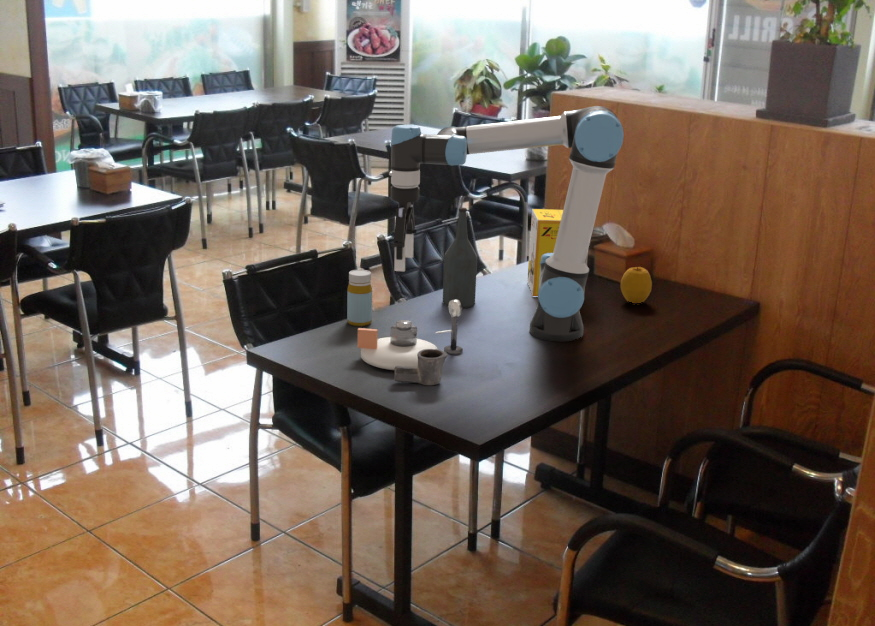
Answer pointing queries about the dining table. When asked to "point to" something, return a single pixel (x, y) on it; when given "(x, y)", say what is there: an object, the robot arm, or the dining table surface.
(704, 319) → the dining table surface
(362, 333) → the turntable
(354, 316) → the bottle
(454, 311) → the silver headed stand
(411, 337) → the cover
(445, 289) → the bottle
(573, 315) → the robot arm
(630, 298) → the apple
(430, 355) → the pipe
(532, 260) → the packaging box
